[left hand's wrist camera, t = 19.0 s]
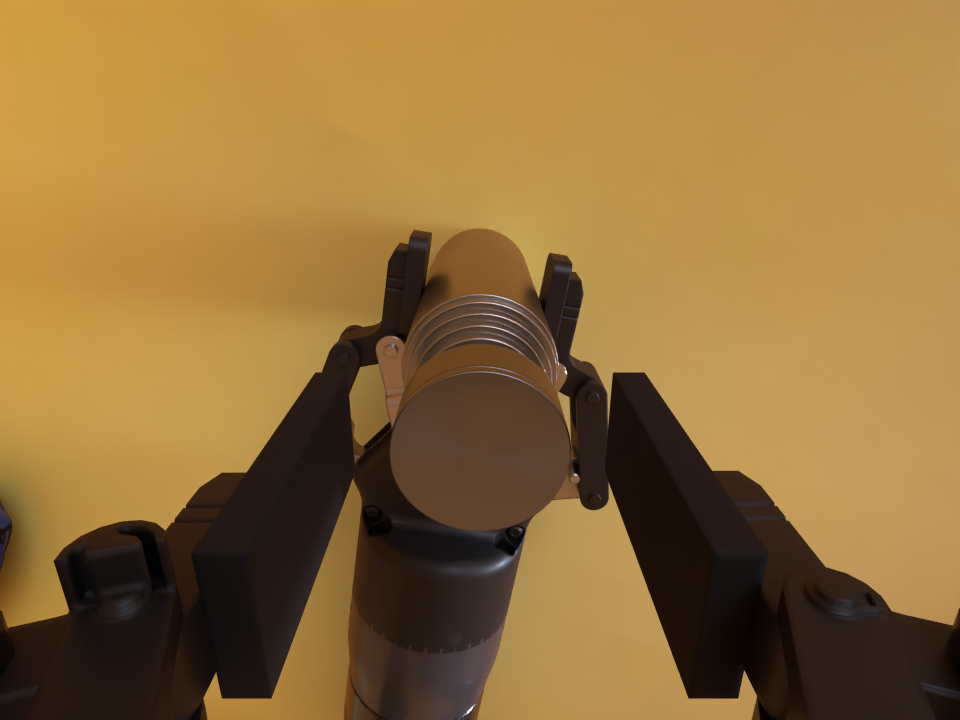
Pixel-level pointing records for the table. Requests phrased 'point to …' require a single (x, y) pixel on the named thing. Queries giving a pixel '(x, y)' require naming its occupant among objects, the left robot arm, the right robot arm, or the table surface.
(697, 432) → the table surface
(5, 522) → the toy dinosaur
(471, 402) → the cap
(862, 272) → the table surface
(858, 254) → the table surface
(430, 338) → the bottle
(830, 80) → the table surface
